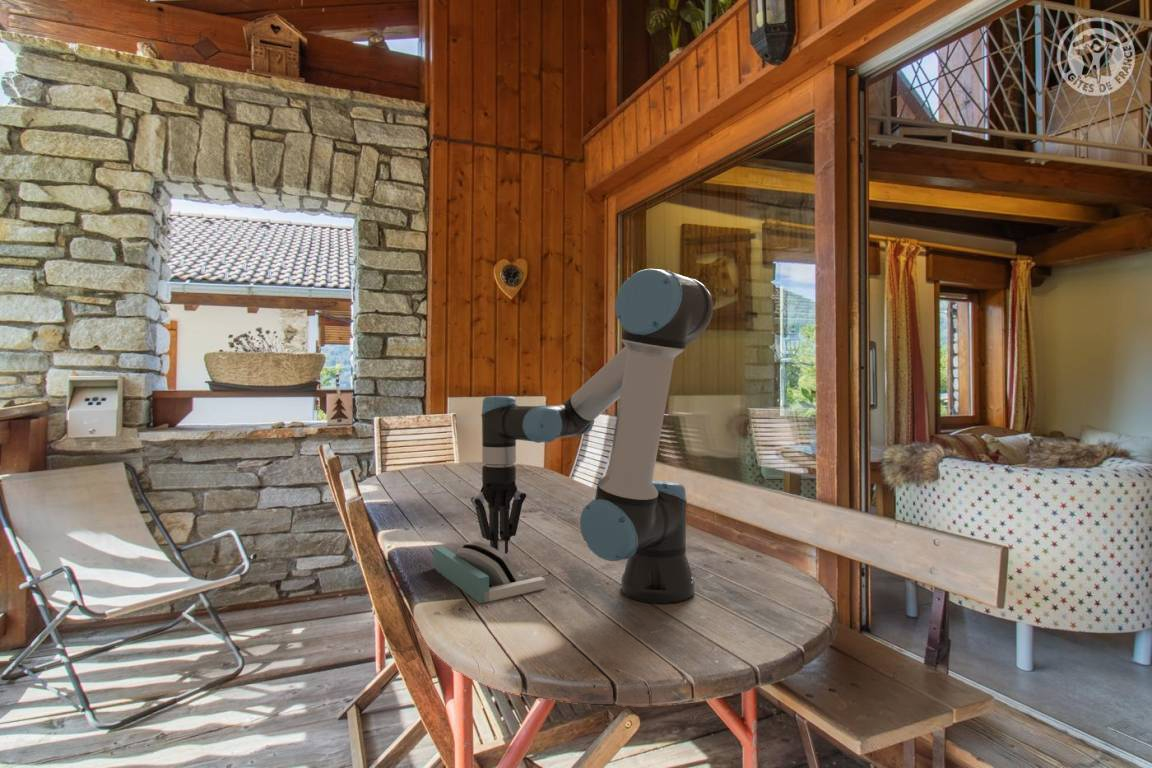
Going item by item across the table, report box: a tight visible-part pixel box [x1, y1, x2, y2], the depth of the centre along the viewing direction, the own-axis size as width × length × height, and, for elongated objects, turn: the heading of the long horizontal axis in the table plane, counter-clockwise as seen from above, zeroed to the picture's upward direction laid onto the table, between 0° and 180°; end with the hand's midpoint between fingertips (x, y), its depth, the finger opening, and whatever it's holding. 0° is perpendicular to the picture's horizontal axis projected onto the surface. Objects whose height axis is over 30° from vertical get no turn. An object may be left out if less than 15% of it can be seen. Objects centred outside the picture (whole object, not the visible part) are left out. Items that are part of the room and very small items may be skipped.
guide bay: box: [432, 545, 546, 604], centre depth 133 cm, size 26×15×5 cm, turn 33°
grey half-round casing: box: [455, 540, 527, 587], centre depth 130 cm, size 17×5×10 cm, turn 45°
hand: (499, 568), depth 135 cm, fingers closed
